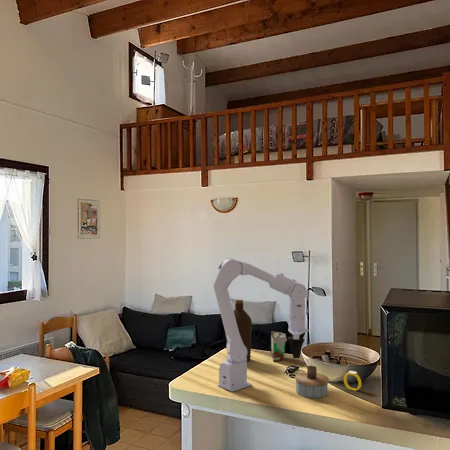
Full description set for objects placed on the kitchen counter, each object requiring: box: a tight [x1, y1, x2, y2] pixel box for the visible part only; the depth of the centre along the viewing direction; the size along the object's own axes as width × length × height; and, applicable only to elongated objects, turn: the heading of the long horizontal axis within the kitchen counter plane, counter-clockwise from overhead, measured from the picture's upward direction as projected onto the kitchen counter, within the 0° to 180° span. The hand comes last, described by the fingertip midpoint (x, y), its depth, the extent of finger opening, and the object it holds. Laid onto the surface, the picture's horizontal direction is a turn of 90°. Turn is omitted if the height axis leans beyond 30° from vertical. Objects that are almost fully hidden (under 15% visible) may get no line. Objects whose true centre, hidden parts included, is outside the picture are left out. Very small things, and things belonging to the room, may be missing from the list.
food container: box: [270, 331, 288, 363], centre depth 181 cm, size 12×6×10 cm, turn 179°
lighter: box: [321, 354, 330, 362], centre depth 156 cm, size 7×2×8 cm, turn 38°
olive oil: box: [227, 299, 253, 363], centre depth 178 cm, size 11×11×25 cm
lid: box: [294, 365, 330, 386], centre depth 143 cm, size 11×11×4 cm
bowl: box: [295, 381, 329, 399], centre depth 143 cm, size 10×10×4 cm
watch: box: [343, 370, 362, 392], centre depth 146 cm, size 6×3×6 cm, turn 43°
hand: (296, 354), depth 152 cm, fingers open, 7 cm apart
